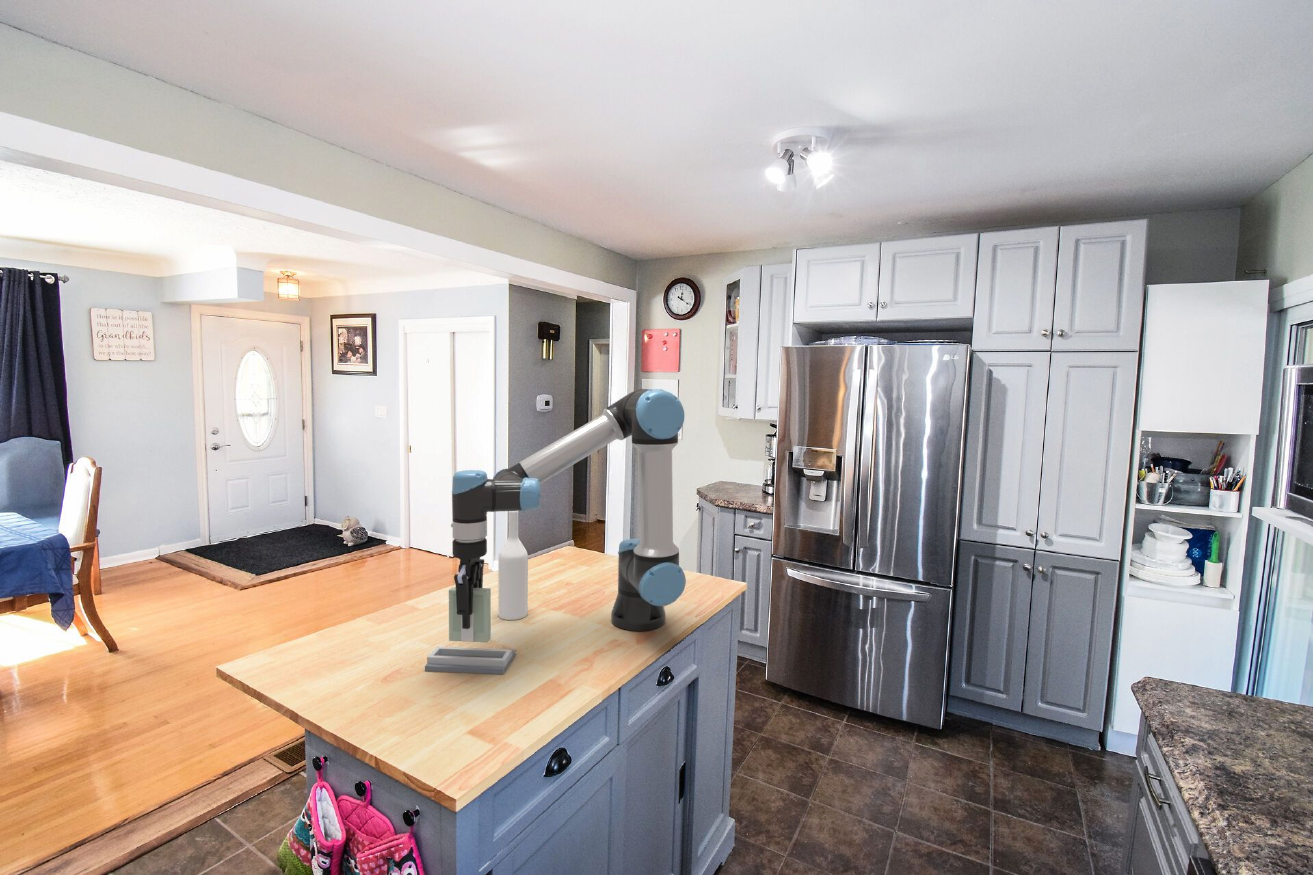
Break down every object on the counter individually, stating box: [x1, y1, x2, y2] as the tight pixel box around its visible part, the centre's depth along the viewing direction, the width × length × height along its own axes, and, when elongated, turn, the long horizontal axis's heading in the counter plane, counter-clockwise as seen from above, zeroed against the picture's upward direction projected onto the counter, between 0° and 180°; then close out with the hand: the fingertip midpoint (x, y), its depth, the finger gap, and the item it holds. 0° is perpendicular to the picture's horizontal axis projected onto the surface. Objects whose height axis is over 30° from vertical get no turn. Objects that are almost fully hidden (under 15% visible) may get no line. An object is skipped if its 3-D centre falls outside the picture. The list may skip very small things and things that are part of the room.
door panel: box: [448, 586, 492, 644], centre depth 138 cm, size 9×2×12 cm, turn 88°
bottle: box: [497, 511, 529, 621], centre depth 169 cm, size 8×8×30 cm
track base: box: [424, 646, 517, 675], centre depth 140 cm, size 18×10×3 cm, turn 88°
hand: (470, 637), depth 139 cm, fingers closed on door panel, 2 cm apart
